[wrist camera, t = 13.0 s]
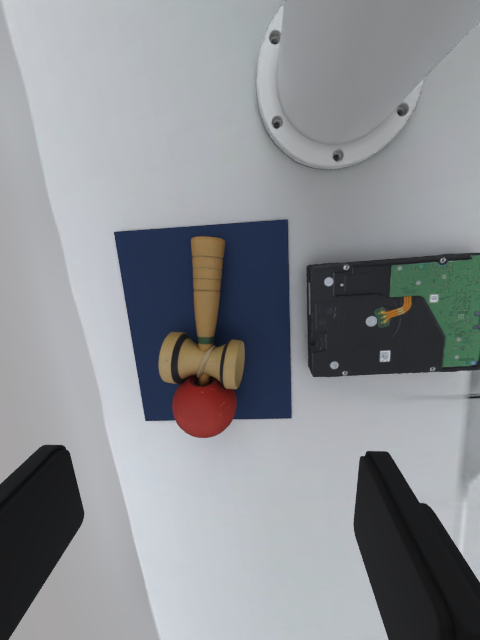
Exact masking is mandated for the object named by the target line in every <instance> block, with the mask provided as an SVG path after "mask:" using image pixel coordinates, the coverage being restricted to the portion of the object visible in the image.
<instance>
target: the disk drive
mask: <svg viewBox="0 0 480 640" xmlns="http://www.w3.org/2000/svg"><path fill="white" fill-rule="evenodd" d="M307 320H308V357H309V358H308V366H309V369H310V371H311V373H312V375H313V377H339V376H343V375H345V376H353V375H355V376H357V375H375V374H394V373H398V374H400V373H421V372H423V373H424V372H456V371H461V370H463V371H465V370H468V371H469V370H480V253H467V254H466V253H465V254H443V255H438V256H424V257H412V258H398V259H385V260H372V261H359V262H346V263H325V264H315V265H308V266H307Z"/></svg>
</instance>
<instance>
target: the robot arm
mask: <svg viewBox="0 0 480 640" xmlns="http://www.w3.org/2000/svg"><path fill="white" fill-rule="evenodd" d="M479 22H480V0H284V3H283V5H282V6H281V7H280V8H279V10H278V11H277V12H276V14H275V16H274V18H273V19H272V21H271V23H270V25H269V26H268V28H267V31H266V34H265V36H264V39H263V42H262V44H261V47H260V52H259V57H258V62H257V74H256V91H257V101H258V106H259V111H260V115H261V118H262V120H263V123H264V125H265V128H266V130H267V132H268V133H269V135H270V136H271V138H272V139H273V141H274V143H275V144H276V145H277V146H278V147H279V148H280V149H281V150H282V151H283V152H284V153H285V154H286V155H288V156H289V157H291V158H292V159H294V160H295V161H297V162H299V163H301V164H304V165H306V166H309V167H312V168H318V169H324V170H325V169H341V168H345V167H349V166H353V165H355V164H358V163H360V162H362V161H364V160H366V159H368V158H370V157H371V156H373V155H374V154H375V153H377V152H378V151H380V150H381V149H382V148H383V147H385V146H386V145H387V144H388V143H389V142H390V141H392V139H393V138H394V137H395V136H396V135H397V134H398V133H399V131H400V130H401V129H402V128H403V127H404V125H405V124H406V122H407V121H408V119H409V118H410V116H411V114H412V113H413V111H414V108H415V106H416V104H417V101H418V99H419V97H420V94H421V91H422V87H423V83H424V79H425V77H426V76H427V75H428V74H429V73H430V72H431V71H432V70H433V69H434V68H435V67H436V66H437V65H438V64H439V63H440V62H441V61H442V60H443V59H444V58H445V57H446V56H447V55H448V54H449V53H450V51H451V50H452V49H453V48H454V47H455V46H456V45H457V44H458V43H459V42H460V41H461V40H462V39H463V38H464V37H465V36H466V35H467V34H468V33H469V32H470V31H471V30H472V29H473V28H474V27H475V26H476V25H477V24H478V23H479ZM272 43H277V44H276V45H275V44H272ZM397 112H399V113H400V116H399V115H398V114H397ZM275 124H279V126H280V127H279V128H278V129H277V128H274V125H275ZM333 156H337V157H338V161H335V160H334V159H333ZM83 518H84V510H83V505H82V501H81V497H80V493H79V489H78V485H77V481H76V477H75V473H74V469H73V464H72V460H71V456H70V453H69V451H68V450H66V448H65V447H64V446H63V445H43V446H42V447H40V448H39V449H38V450H37V451H36V452H35V453H33V454H32V455H31V456H30V457H29V458H28V459H27V460H26V461H25V462H24V463H23V464H22V465H21V466H19V468H17V469H16V470H15V471H14V472H13V473H12V474H11V475H10V476H9V477H8V478H7V479H6V480H4V481H3V482H2V483H1V484H0V640H9V638H10V636H11V635H12V633H13V632H14V630H15V629H16V627H17V625H18V624H19V622H20V621H21V619H22V618H23V616H24V614H25V613H26V611H27V610H28V608H29V607H30V605H31V603H32V602H33V600H34V598H35V597H36V595H37V594H38V592H39V591H40V589H41V588H42V586H43V584H44V583H45V581H46V580H47V578H48V577H49V575H50V573H51V572H52V570H53V568H54V567H55V565H56V564H57V562H58V561H59V559H60V558H61V556H62V554H63V553H64V551H65V550H66V548H67V547H68V545H69V543H70V542H71V540H72V539H73V537H74V536H75V534H76V532H77V531H78V529H79V528H80V526H81V524H82V522H83ZM354 532H355V536H356V540H357V543H358V546H359V549H360V552H361V555H362V558H363V562H364V565H365V568H366V571H367V574H368V577H369V580H370V583H371V586H372V589H373V593H374V596H375V599H376V602H377V605H378V608H379V611H380V614H381V617H382V620H383V624H384V627H385V630H386V633H387V636H388V639H389V640H480V582H479V581H478V579H477V578H476V576H475V575H474V573H473V571H472V570H471V568H470V567H469V565H468V564H467V562H466V561H465V559H464V558H463V556H462V554H461V553H460V551H459V550H458V548H457V547H456V545H455V544H454V542H453V540H452V539H451V537H450V536H449V534H448V533H447V531H446V530H445V528H444V526H443V525H442V523H441V522H440V520H439V519H438V517H437V516H436V514H435V513H434V511H433V510H432V509H431V507H429V506H428V505H427V504H424V503H419V501H418V500H417V498H416V496H415V495H414V493H413V491H412V490H411V488H410V487H409V485H408V483H407V482H406V480H405V478H404V477H403V475H402V473H401V472H400V470H399V468H398V467H397V465H396V464H395V462H394V460H393V459H392V457H391V455H390V454H389V453H388V452H384V451H367V452H366V455H365V456H361V457H360V462H359V472H358V483H357V493H356V504H355V514H354Z"/></svg>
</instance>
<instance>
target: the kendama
mask: <svg viewBox="0 0 480 640" xmlns="http://www.w3.org/2000/svg"><path fill="white" fill-rule="evenodd" d="M224 249H225V240H223V239H221V238H216V237H208V236H198V237H194V238H192V239H191V250H192V257H193V258H192V264H193V278H194V279H193V288H194V310H195V321H196V329H197V337H198V344H196V343H195V342H193V341H192V340H191V338H190V337H189V336H188V335H187V333H184V332H171V333H169V334H168V336H167V337H166V338H165V340H164V342H163V344H162V347H161V350H160V355H159V373H160V376H161V378H162V380H163V381H165V382H167V383H173V384H179V383H180V385H179V386H178V388H177V390H176V391H175V394H174V397H173V403H172V408H173V415H174V418H175V420H176V422H177V424H178V425H179V426H180V428H181V429H182V430H183V431H185V432H186V433H188V434H189V435H191V436H194V437H198V438H208V437H212V436H215V435H218V434H219V433H221V432H222V431H224V430H225V429H226V428H227V427H228V426H229V425H230V423H231V422H232V420H233V418H234V415H235V412H236V406H237V399H236V394H235V391H234V389H237V388H238V387H239V385H240V383H241V379H242V375H243V369H244V360H245V347H244V343H243V341H240V340H235V339H232V340H230V341H229V342H228V343H226V344H225V345H223V346H220V347H216V346H214V345H213V340H214V335H215V330H216V324H217V317H218V310H219V301H220V291H219V290H220V289H221V278H222V267H223V257H224Z"/></svg>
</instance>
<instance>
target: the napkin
mask: <svg viewBox="0 0 480 640" xmlns="http://www.w3.org/2000/svg"><path fill="white" fill-rule="evenodd" d="M114 235H115V241H116V247H117V253H118V259H119V265H120V271H121V277H122V283H123V289H124V295H125V301H126V307H127V313H128V319H129V325H130V331H131V337H132V343H133V348H134V354H135V360H136V366H137V372H138V378H139V384H140V390H141V396H142V402H143V408H144V414H145V420H146V421H163V420H175V418H174V415H173V408H172V403H173V397H174V394H175V391H176V390H177V388H178V386H179V385H180V383H179V384H173V383H167V382H165V381H163V380H162V378H161V376H160V373H159V355H160V350H161V347H162V344H163V342H164V340H165V338H166V337H167V336H168V334H169V333H171V332H184V333H187V335H188V336H189V337H190V338H191V340H192V341H193V342H195V343H196V344H198V337H197V329H196V321H195V310H194V288H193V279H194V278H193V264H192V258H193V257H192V250H191V239H192V238H194V237H198V236H208V237H216V238H221V239H223V240H225V249H224V257H223V267H222V278H221V289H220V290H219V291H220V301H219V310H218V317H217V324H216V330H215V335H214V340H213V345H214V346H216V347H220V346H223V345H225V344H226V343H228V342H229V341H230V340H232V339H235V340H240V341H243V343H244V347H245V360H244V369H243V375H242V379H241V383H240V385H239V387H238V388H237V389H234V391H235V394H236V399H237V406H236V412H235V415H234V418H233V419H278V418H291V369H290V317H289V265H288V220H274V221H260V222H246V223H233V224H219V225H205V226H191V227H177V228H163V229H150V230H136V231H122V232H114Z"/></svg>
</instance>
